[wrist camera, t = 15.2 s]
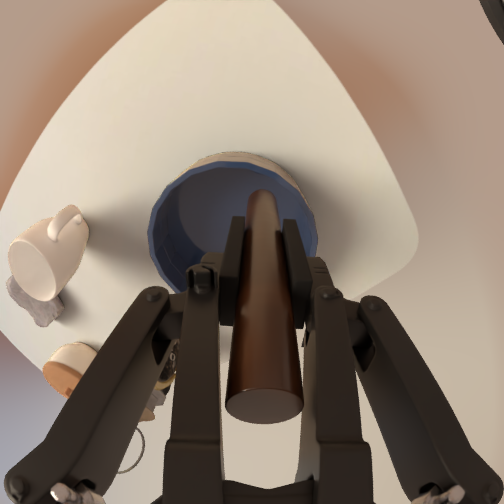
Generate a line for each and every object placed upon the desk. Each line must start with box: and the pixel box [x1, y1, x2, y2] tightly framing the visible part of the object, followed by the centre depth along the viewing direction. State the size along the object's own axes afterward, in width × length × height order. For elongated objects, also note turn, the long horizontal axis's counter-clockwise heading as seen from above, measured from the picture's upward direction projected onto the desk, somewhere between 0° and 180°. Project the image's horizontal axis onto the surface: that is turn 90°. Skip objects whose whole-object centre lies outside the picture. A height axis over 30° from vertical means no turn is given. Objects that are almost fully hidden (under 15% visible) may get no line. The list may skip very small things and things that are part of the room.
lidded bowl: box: [43, 342, 97, 399], centre depth 42 cm, size 13×13×11 cm
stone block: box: [6, 275, 64, 327], centre depth 38 cm, size 12×5×10 cm
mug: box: [8, 205, 89, 301], centre depth 28 cm, size 12×8×11 cm
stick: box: [225, 189, 304, 424], centre depth 15 cm, size 2×2×18 cm
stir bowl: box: [147, 152, 318, 293], centre depth 31 cm, size 17×17×6 cm
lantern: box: [117, 339, 180, 474], centre depth 31 cm, size 9×8×25 cm
